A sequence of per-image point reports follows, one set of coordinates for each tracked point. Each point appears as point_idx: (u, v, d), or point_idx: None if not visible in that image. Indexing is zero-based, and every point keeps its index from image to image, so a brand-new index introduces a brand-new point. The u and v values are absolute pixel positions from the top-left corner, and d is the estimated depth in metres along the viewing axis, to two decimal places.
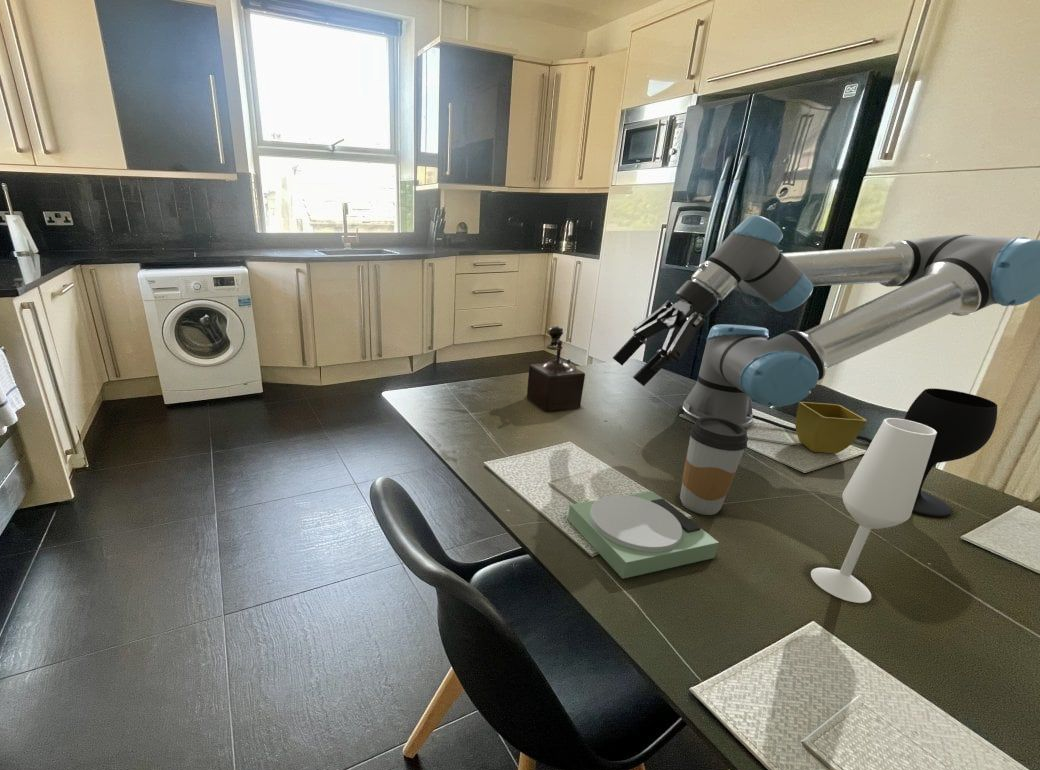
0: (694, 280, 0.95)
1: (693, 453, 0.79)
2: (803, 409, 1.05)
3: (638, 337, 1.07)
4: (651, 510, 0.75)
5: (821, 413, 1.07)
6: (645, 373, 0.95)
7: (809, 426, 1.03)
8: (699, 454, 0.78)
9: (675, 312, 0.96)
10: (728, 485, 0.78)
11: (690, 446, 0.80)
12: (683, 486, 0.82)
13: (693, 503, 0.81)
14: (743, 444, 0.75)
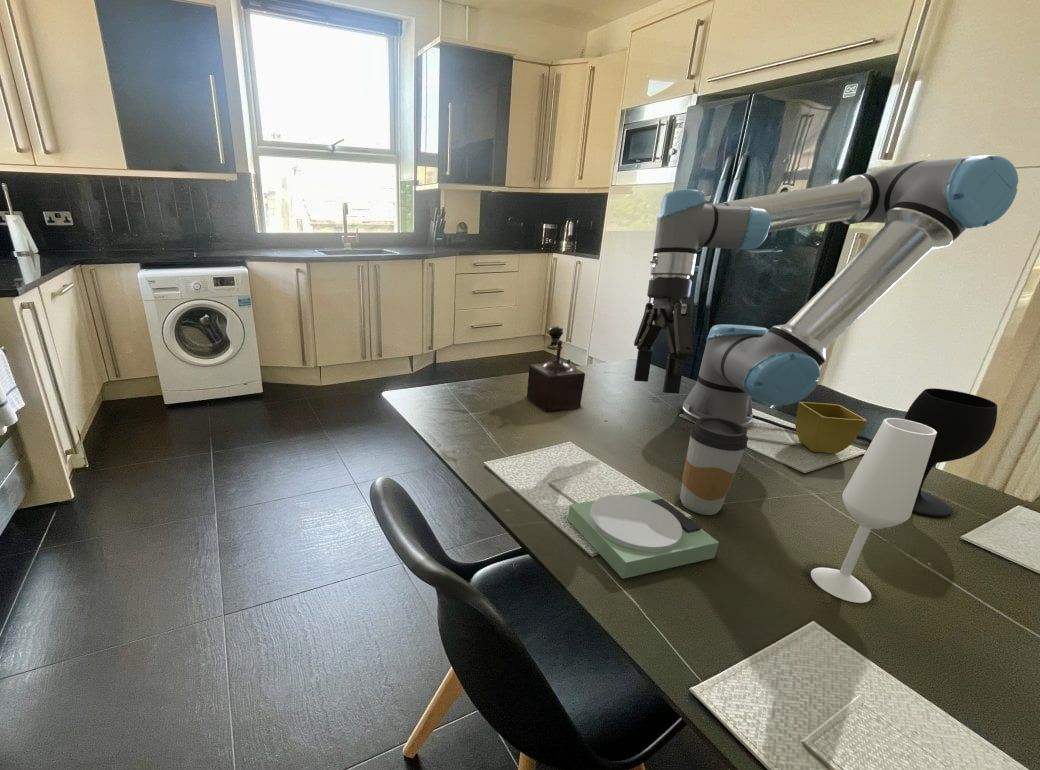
0: (655, 276, 0.92)
1: (693, 453, 0.79)
2: (803, 409, 1.05)
3: (644, 349, 1.03)
4: (651, 510, 0.75)
5: (821, 413, 1.07)
6: (671, 381, 0.89)
7: (809, 426, 1.03)
8: (699, 454, 0.78)
9: (659, 312, 0.92)
10: (728, 485, 0.78)
11: (690, 446, 0.80)
12: (683, 486, 0.82)
13: (693, 503, 0.81)
14: (743, 444, 0.75)
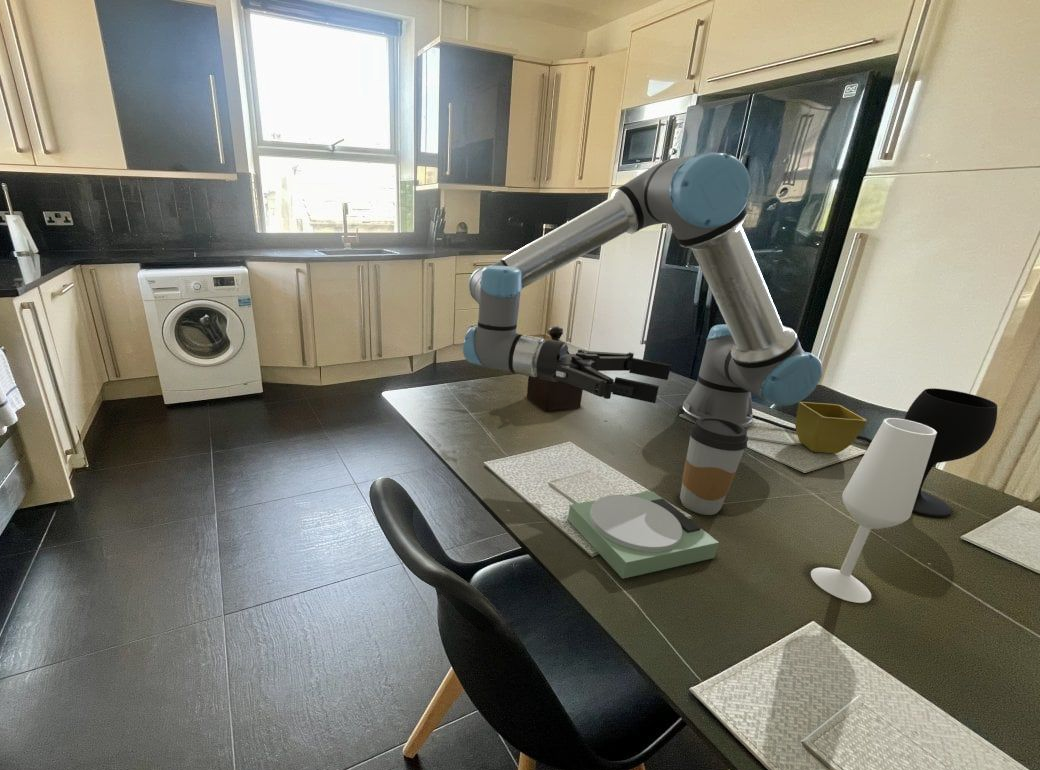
0: None
1: (693, 453, 0.79)
2: (803, 409, 1.05)
3: (629, 365, 0.89)
4: (651, 510, 0.75)
5: (821, 413, 1.07)
6: (641, 394, 0.76)
7: (809, 426, 1.03)
8: (699, 454, 0.78)
9: None
10: (728, 485, 0.78)
11: (690, 446, 0.80)
12: (683, 486, 0.82)
13: (693, 503, 0.81)
14: (744, 444, 0.75)
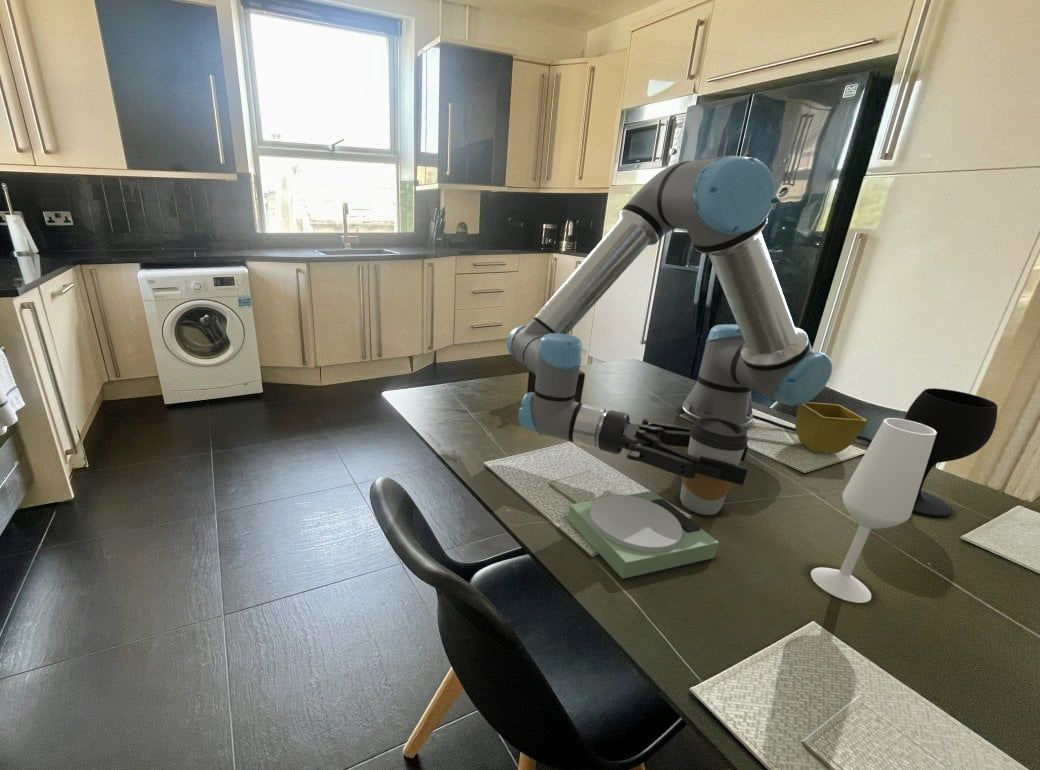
0: None
1: (693, 453, 0.79)
2: (803, 409, 1.05)
3: None
4: (651, 510, 0.75)
5: (821, 413, 1.07)
6: (728, 475, 0.75)
7: (809, 426, 1.03)
8: (699, 454, 0.78)
9: None
10: (728, 485, 0.78)
11: (690, 446, 0.80)
12: (683, 486, 0.82)
13: (693, 503, 0.81)
14: (744, 444, 0.75)
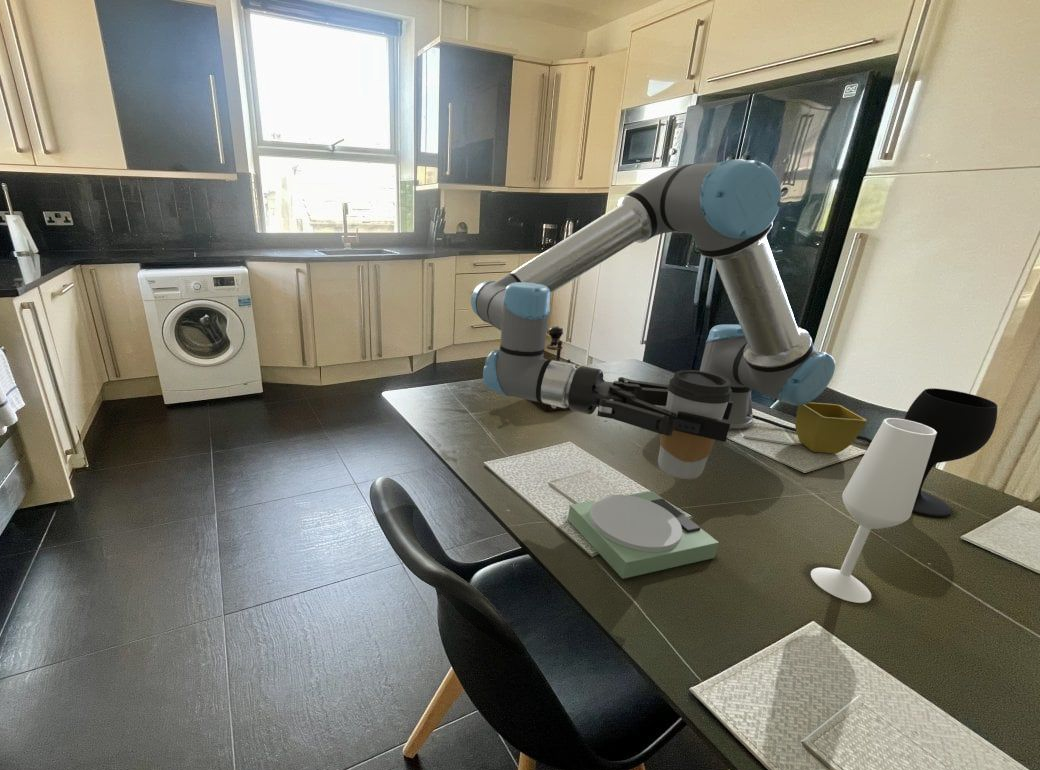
0: None
1: (671, 409, 0.71)
2: (803, 409, 1.05)
3: None
4: (651, 510, 0.75)
5: (821, 413, 1.07)
6: (709, 431, 0.67)
7: (809, 426, 1.03)
8: (677, 409, 0.69)
9: None
10: (710, 444, 0.70)
11: (668, 402, 0.71)
12: (661, 448, 0.74)
13: (672, 466, 0.72)
14: (726, 397, 0.67)
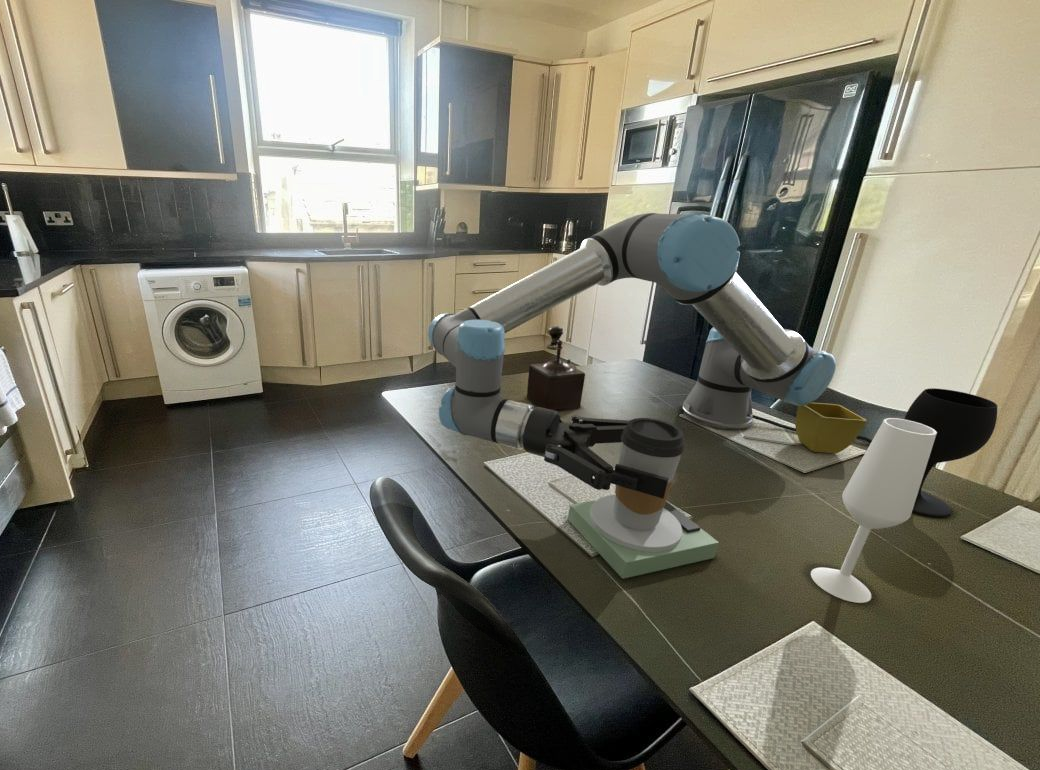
0: None
1: (623, 460, 0.68)
2: (803, 409, 1.05)
3: None
4: None
5: (821, 413, 1.07)
6: (646, 487, 0.63)
7: (809, 426, 1.03)
8: (629, 461, 0.67)
9: None
10: (664, 497, 0.68)
11: (621, 451, 0.69)
12: (616, 497, 0.72)
13: (626, 517, 0.70)
14: (679, 450, 0.65)
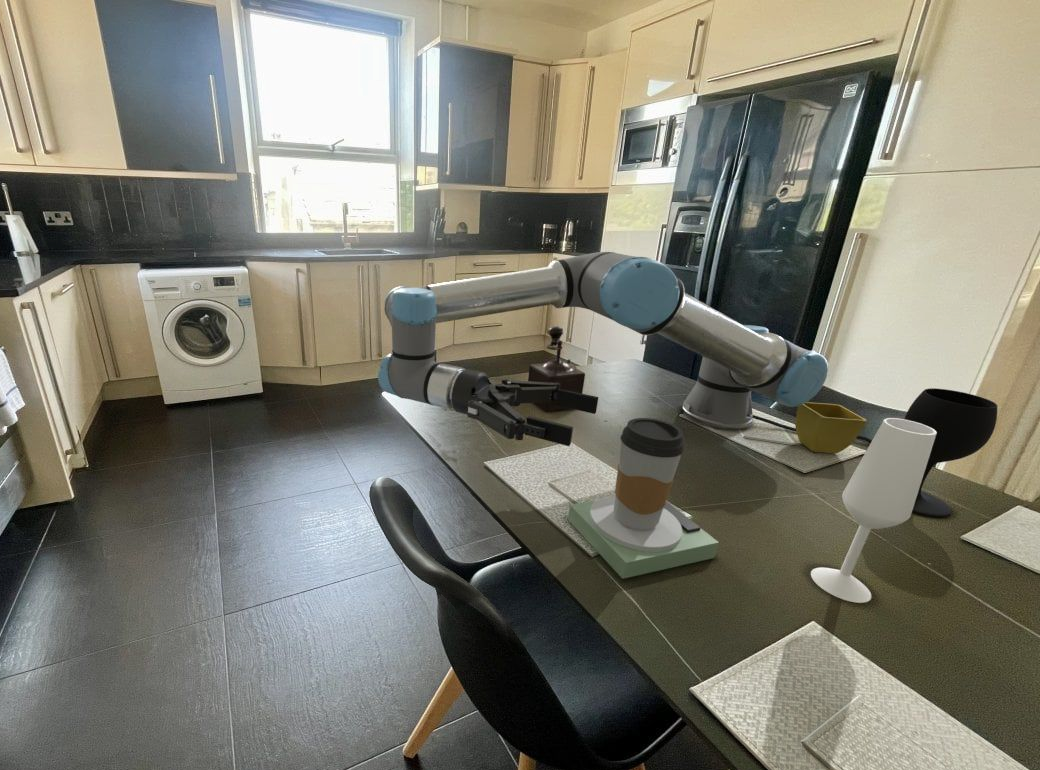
0: None
1: (623, 460, 0.68)
2: (803, 409, 1.05)
3: (556, 396, 0.81)
4: None
5: (821, 413, 1.07)
6: (554, 435, 0.68)
7: (809, 426, 1.03)
8: (629, 461, 0.67)
9: None
10: (664, 497, 0.68)
11: (621, 451, 0.69)
12: (616, 497, 0.72)
13: (626, 517, 0.70)
14: (679, 450, 0.65)
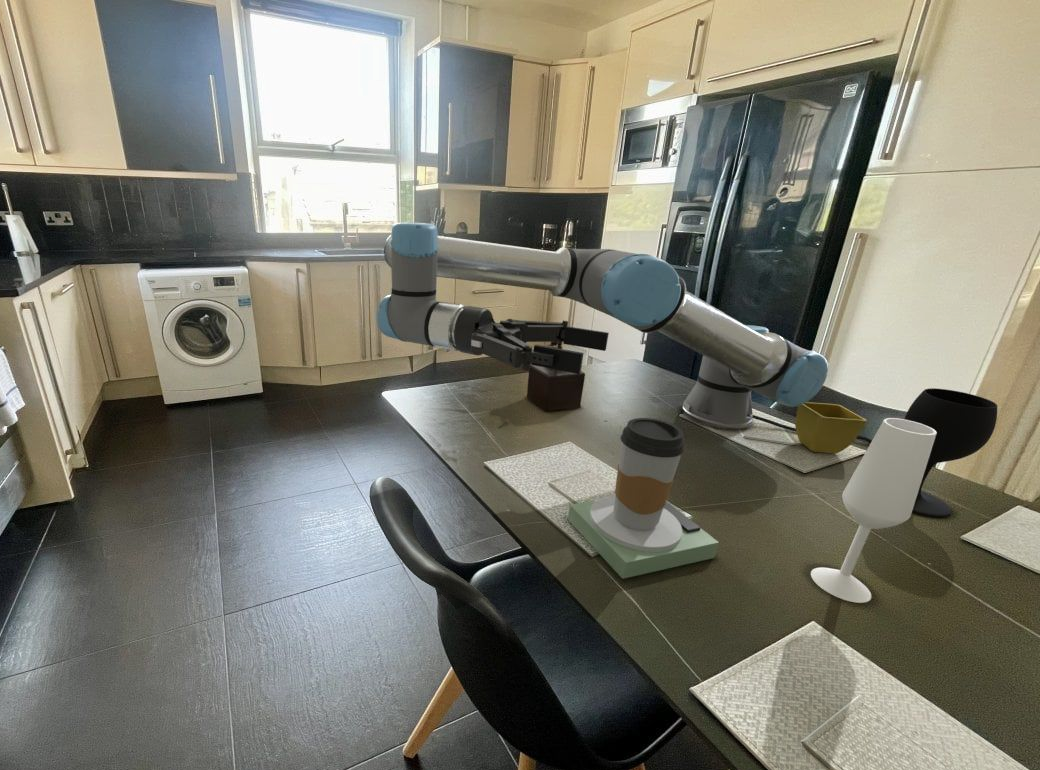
0: None
1: (623, 460, 0.68)
2: (803, 409, 1.05)
3: (563, 334, 0.77)
4: None
5: (821, 413, 1.07)
6: (563, 363, 0.64)
7: (809, 426, 1.03)
8: (629, 461, 0.67)
9: None
10: (664, 497, 0.68)
11: (621, 451, 0.69)
12: (616, 497, 0.72)
13: (626, 517, 0.70)
14: (679, 450, 0.65)
